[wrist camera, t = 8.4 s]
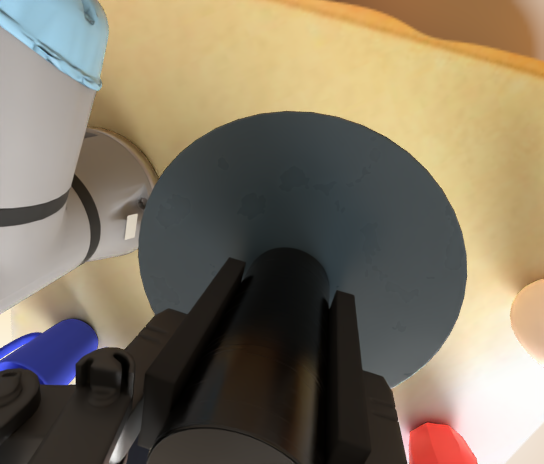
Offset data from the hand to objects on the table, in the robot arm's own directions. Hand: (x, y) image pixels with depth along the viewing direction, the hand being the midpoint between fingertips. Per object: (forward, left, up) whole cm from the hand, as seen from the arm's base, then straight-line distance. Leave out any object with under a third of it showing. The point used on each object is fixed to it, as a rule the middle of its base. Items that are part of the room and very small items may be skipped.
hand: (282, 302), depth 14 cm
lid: (0, 0, -2) cm, 2 cm away
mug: (-7, -42, -22) cm, 48 cm away
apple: (+36, -9, -22) cm, 43 cm away
